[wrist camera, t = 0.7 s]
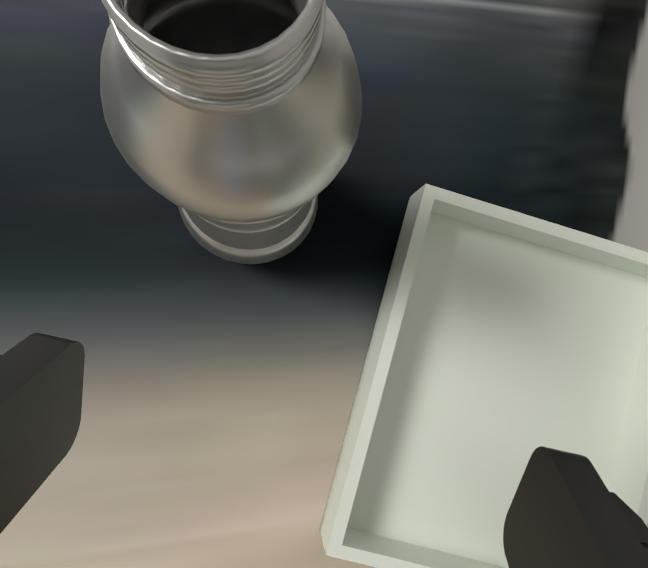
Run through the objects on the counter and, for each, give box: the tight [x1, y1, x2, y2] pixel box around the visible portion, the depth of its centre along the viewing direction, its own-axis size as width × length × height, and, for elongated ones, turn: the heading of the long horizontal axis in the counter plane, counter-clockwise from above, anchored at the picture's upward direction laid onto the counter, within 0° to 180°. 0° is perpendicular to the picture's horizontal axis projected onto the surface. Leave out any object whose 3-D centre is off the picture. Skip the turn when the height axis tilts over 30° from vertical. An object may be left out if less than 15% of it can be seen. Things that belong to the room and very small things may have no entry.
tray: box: [320, 184, 648, 568], centre depth 27 cm, size 18×15×3 cm
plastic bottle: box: [100, 0, 362, 264], centre depth 18 cm, size 6×7×20 cm
